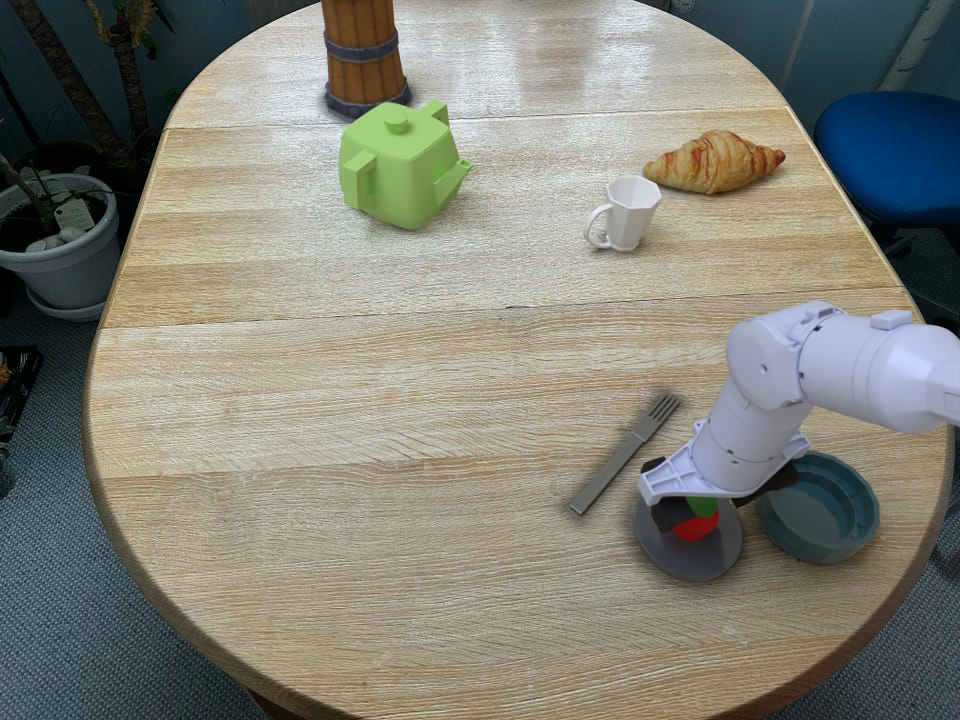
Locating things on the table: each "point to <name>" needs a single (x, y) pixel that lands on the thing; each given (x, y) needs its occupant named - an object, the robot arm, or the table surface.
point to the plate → (690, 545)
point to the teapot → (401, 163)
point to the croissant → (714, 163)
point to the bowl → (821, 511)
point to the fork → (624, 453)
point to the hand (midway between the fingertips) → (696, 510)
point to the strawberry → (699, 519)
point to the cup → (626, 211)
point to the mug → (362, 57)
